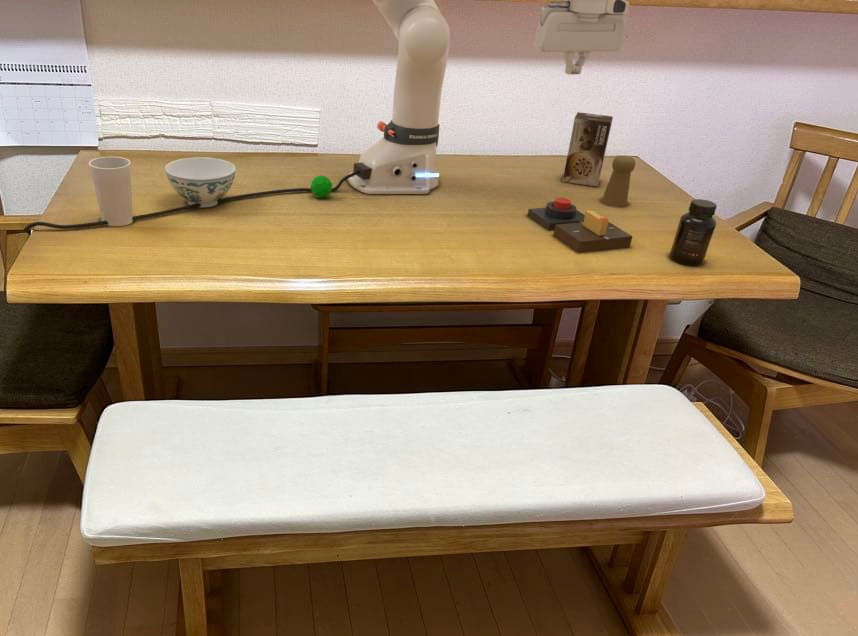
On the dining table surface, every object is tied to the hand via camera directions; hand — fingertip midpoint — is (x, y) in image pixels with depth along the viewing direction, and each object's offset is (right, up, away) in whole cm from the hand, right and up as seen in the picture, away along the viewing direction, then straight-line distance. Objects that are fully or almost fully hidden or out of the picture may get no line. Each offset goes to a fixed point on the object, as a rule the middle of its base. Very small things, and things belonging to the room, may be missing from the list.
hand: (572, 73), depth 162 cm
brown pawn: (+16, -22, +21) cm, 34 cm away
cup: (-96, -33, -6) cm, 102 cm away
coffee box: (+11, -13, +33) cm, 38 cm away
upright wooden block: (+4, -34, -2) cm, 35 cm away
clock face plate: (+4, -36, -1) cm, 37 cm away
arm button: (-1, -27, +6) cm, 28 cm away
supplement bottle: (+22, -41, -6) cm, 47 cm away
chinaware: (-81, -26, +6) cm, 85 cm away
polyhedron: (-55, -23, +13) cm, 61 cm away
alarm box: (-1, -30, +8) cm, 31 cm away
